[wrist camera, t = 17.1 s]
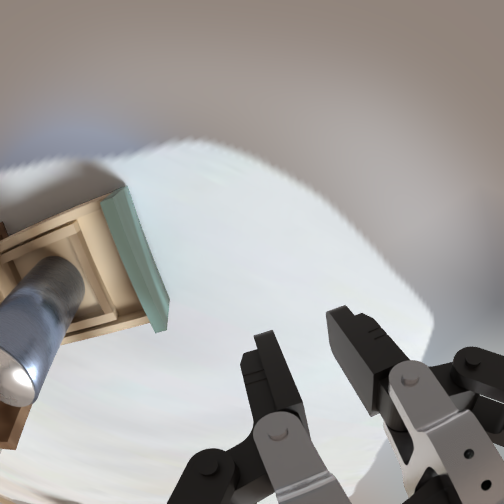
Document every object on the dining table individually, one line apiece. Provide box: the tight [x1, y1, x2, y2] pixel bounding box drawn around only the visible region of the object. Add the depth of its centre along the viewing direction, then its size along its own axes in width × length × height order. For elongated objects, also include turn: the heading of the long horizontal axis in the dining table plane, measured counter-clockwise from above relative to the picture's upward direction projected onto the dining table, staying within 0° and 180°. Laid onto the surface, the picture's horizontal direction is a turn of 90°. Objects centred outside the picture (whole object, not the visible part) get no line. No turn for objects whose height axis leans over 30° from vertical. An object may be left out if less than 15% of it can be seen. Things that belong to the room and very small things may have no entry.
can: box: [0, 256, 85, 407], centre depth 18 cm, size 5×5×12 cm
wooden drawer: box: [0, 186, 170, 345], centre depth 23 cm, size 17×11×5 cm, turn 104°
